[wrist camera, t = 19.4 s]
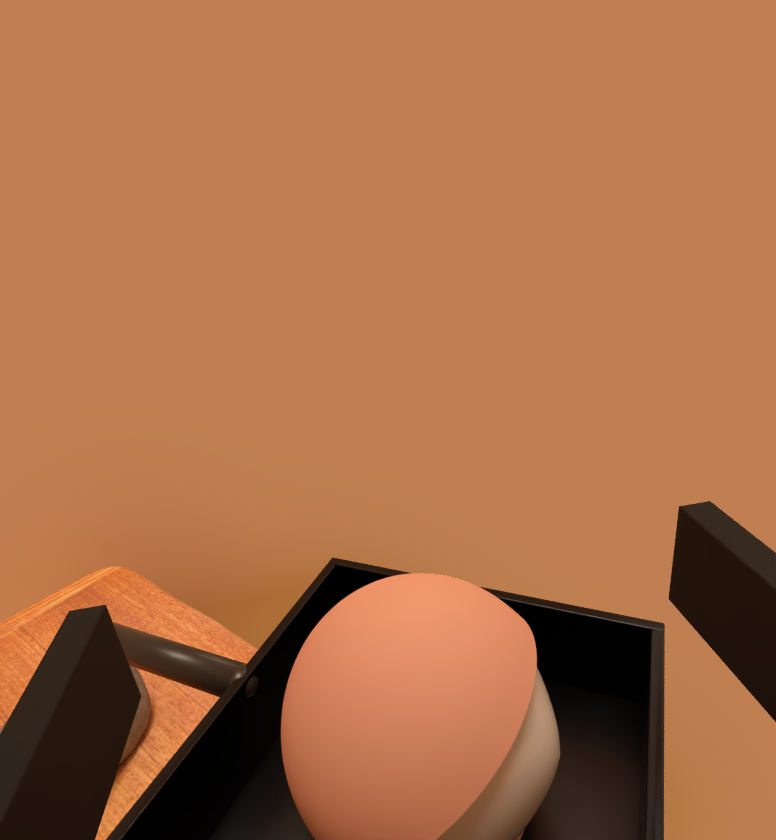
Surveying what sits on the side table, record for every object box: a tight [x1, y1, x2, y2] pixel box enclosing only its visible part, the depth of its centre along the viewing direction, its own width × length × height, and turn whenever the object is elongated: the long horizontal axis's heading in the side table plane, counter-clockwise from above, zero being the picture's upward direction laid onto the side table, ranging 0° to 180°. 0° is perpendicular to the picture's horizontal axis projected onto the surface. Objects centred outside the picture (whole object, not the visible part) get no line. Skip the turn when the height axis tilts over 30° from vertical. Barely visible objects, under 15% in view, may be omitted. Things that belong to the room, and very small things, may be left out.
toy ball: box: [281, 573, 560, 840], centre depth 16 cm, size 8×8×8 cm
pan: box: [106, 558, 665, 840], centre depth 19 cm, size 22×13×4 cm, turn 66°
